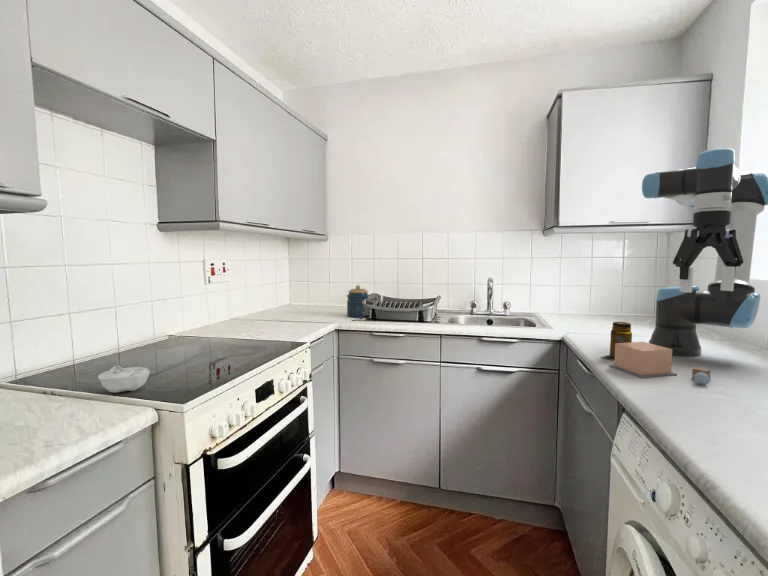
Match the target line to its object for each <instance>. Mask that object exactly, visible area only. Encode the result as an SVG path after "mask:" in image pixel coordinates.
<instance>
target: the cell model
mask: <svg viewBox="0 0 768 576" xmlns="http://www.w3.org/2000/svg"><path fill="white" fill-rule="evenodd" d="M150 373H151V371H150V369H148V368H147V367H143V366H134V367H123V368H122V366H120V365H115V366H113V367H111V368H110V369H109V370H106V371H104V372H101V373H100V374H98V375H97V379H98V381H100V383H101V386H102V387H103V388H104V389H106V390H107V391H108V392H110V393H123V392H126V391H130V392H131V391H132V392H133V391H136V390H138V389H140V388H142V386H144V384H146V382H147V380H148V379H149V375H150Z"/></svg>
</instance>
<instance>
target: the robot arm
mask: <svg viewBox="0 0 768 576" xmlns="http://www.w3.org/2000/svg"><path fill="white" fill-rule="evenodd" d="M735 157H736V156H735V150H734V149H733V148H727V147H726V148H723V147H722V148H714V149H710V150H704V151H702V152H700V153H699V154H698V155H697V159H696V164H695V167H691V168H690V167H689V168H684V169H683V168H682V169H677V170H666V171H661V172H659V171H658V172H654V173H649V174H646V175H644V177H643V179H642V183H641V191H642V196H643V197H644V198H645V199H658V198H660V199H661V198H665V199H670V200H673V201H675V202H676V203H677V204H679V205H681V206H683V207H689V208H693V211H694V213H693V215H692V217H693V218H692V226H693V227H696V228H695V229H694V228H693V229H689V228H688V229H685V231H684V236H683V239H682V242H681V243H680V246H679V248H678V250H677V252H676V254H675V257H674V259H673V261H672V264H673V265H675V267H677V268H679V280H680V281H679V282H680V283H679V286H677V285H676V286H666V287H662V288H660V289H658V290H657V295H656V300H655V302H656V306H655V309H656V310H655V325H654V326H655V328H654V329H653V331H652V334H651V337H650V339H649V341H648V343H650V344H654V345H658V346H662V347H666V348H670V349H672V356H673V355H675V356H685V357H686V356H688V357H690V356H692V357H693V356H699V355H701V354H702V346H701V344H700V341H699V340H700V339H699V337H698V334H697V325H705V326H712V327H713V326H715V327H725V328H729V329H734V328H736V329H748V328H750V327H752V325H753V324H754V322H755V319H756V318H757V314H758V311H759V308H760V307H759V306H760V302H761V294H760V293H759V292H755V291H756V288H755V286H753V285H752V283H750V278H751V270H752V269H751V268H752V262H753V261H752V260H753V253H754V243H755V235H756V225H757V217H758V215H760V214H761V213H762V212H764V210H765V206H768V171H767V170H764V169H757V170H751V169H750V170H746V171H741V172H740V170H739V168H738V167H737V166H735V161H736V158H735ZM707 247H712V248H713V249H715V251H716V253H717V258H716V259H717V260H716V266H715V275H714V281H712V282H710V283H709V284H708V285H707V290H706V289H705V290H702V289H700V287H699V285H693V279H694V267H693V266H692V265H693V263H695V261H696V260H697V258H698V257H699V256H700V255H701V253H702V251H703V250H704V249H707ZM691 266H692V267H691Z"/></svg>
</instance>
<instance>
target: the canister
mask: <svg viewBox="0 0 768 576" xmlns="http://www.w3.org/2000/svg"><path fill="white" fill-rule="evenodd" d="M346 297H347V301H346V307H347V308H346V311H347V312H346V315H347V317H348V316H349V318H365V317H364V308H363V305H362V301H363V300H365V299H368V297H370V294H369V291H368V290H367V289H366V288H361V286H360V285H356V286H355V288H352V289H350V290H348V294H347V295H346Z"/></svg>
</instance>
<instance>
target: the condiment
mask: <svg viewBox="0 0 768 576" xmlns="http://www.w3.org/2000/svg"><path fill="white" fill-rule="evenodd" d="M632 332H633V331H632V324H631V323H630V322H627V321H625V322H624V321H614V322H612V327H611V330H610V344H609V354H607V355H604V356H601V358H602V359H605V360H606V359H607V360H610V361H613V362H614V361H615V343H628V342H632V341H633V333H632Z"/></svg>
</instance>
